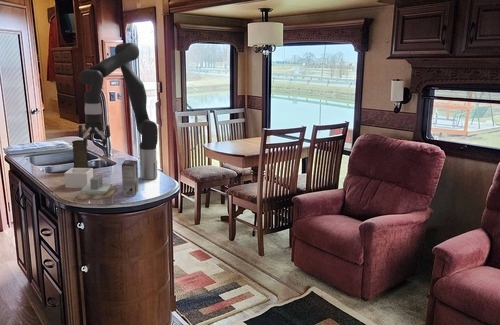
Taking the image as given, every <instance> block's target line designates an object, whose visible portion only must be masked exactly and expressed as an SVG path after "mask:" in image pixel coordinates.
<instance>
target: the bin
mask: <svg viewBox="0 0 500 325" xmlns="http://www.w3.org/2000/svg"><path fill="white" fill-rule="evenodd" d="M92 177H94V168H93V167H88V168H73V167H71V168H70V169H68V170H67V171H65V172H64V182H65V183H64V184H65V189H83V188H84V187H85V186H86V185H87V184H90V179H91V178H92Z"/></svg>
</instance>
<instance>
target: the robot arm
mask: <svg viewBox="0 0 500 325" xmlns="http://www.w3.org/2000/svg"><path fill="white" fill-rule="evenodd" d="M114 53H115V54H114V55H111V56H109V57H106V58H105V59H103V60H101V61H100V62H98V63H97V64H95V65H91V66H89V67H87V68H85V69H83V70H82V71H81V72H80V74H79V81H80V82H81V84H83V85H85V86H91V87H90V89H89V90H85V92H84V117H85V119H84V121H85V124H82V123H81V124H79V125H78V137H79V138H81V139H82V140H83V144H84V145H85V146H87V147H88V144H89V143H88V138H87V137H88V136H89V135H90V134H91V135H100V137H101V138H102V146H103V147H106V146H107V145H108V144H107V142H108V141H107V139H108V138H110V137H111V130H110V124H107V125H104V124H103V113H102V110H103V108H102V104H101V102H102V100H101V93H102V88H103V84H104V78H106V77H108V76H110V74H112V73H113V72H115V71H116V70H117V69H119V68H120V70H121V74H122V77H123V79H124V83H125V86H126V91H127V94H128V97H129V101H130V105H131V107H132V111H133V114H134V118H135V125H136V129H137V132H138V133H139V134H140V135H141V142H140V143H139V176H140V179H141V180H146V181H148V180H156V179H157V177H158V159H157V145H158V138H159V137H158V135H159V134H158V132H159V130H158V128H159V127H158V125H157V123H156V122H154V121H153V120H150V117H149V114H148V109H147V98H148V96H147V92H146V88H145V85H144V83H143V81H142V80H141V78H139V76H138V75H137V74H136V73H135V72H134V69H133V68H132V66H131V62H132V61H133V62H134V61H135V60H137V59H138V58H139V56H140V48H139V47H138V45H137V44H135V42H125V43H124V42H123V43H120V44H116V45H115V48H114ZM84 129H85V130H86V131H85V133H84ZM103 129H104V130H105V132H104V131H103ZM105 133H106V134H105Z"/></svg>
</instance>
